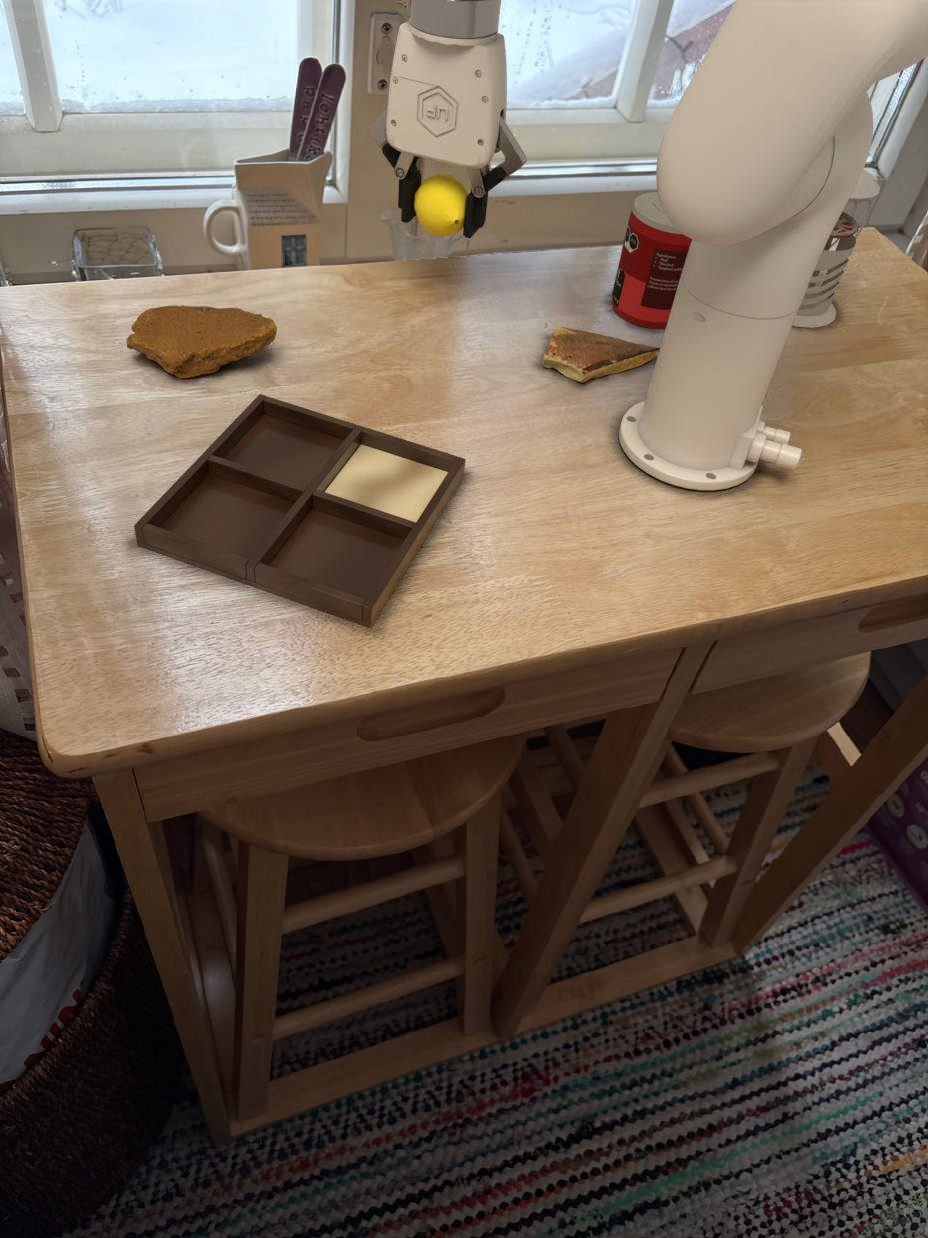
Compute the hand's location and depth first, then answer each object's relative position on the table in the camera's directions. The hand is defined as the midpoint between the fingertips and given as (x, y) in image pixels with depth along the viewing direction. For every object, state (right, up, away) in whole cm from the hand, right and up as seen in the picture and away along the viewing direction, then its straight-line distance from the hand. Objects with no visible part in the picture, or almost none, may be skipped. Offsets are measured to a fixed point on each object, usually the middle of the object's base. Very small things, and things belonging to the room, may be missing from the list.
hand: (441, 222), depth 95 cm
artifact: (-22, -14, -4) cm, 27 cm away
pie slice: (+15, -12, +2) cm, 19 cm away
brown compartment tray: (-10, -30, -18) cm, 36 cm away
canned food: (+22, -6, +10) cm, 24 cm away
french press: (+39, -3, +15) cm, 42 cm away
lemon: (0, -1, +1) cm, 1 cm away
